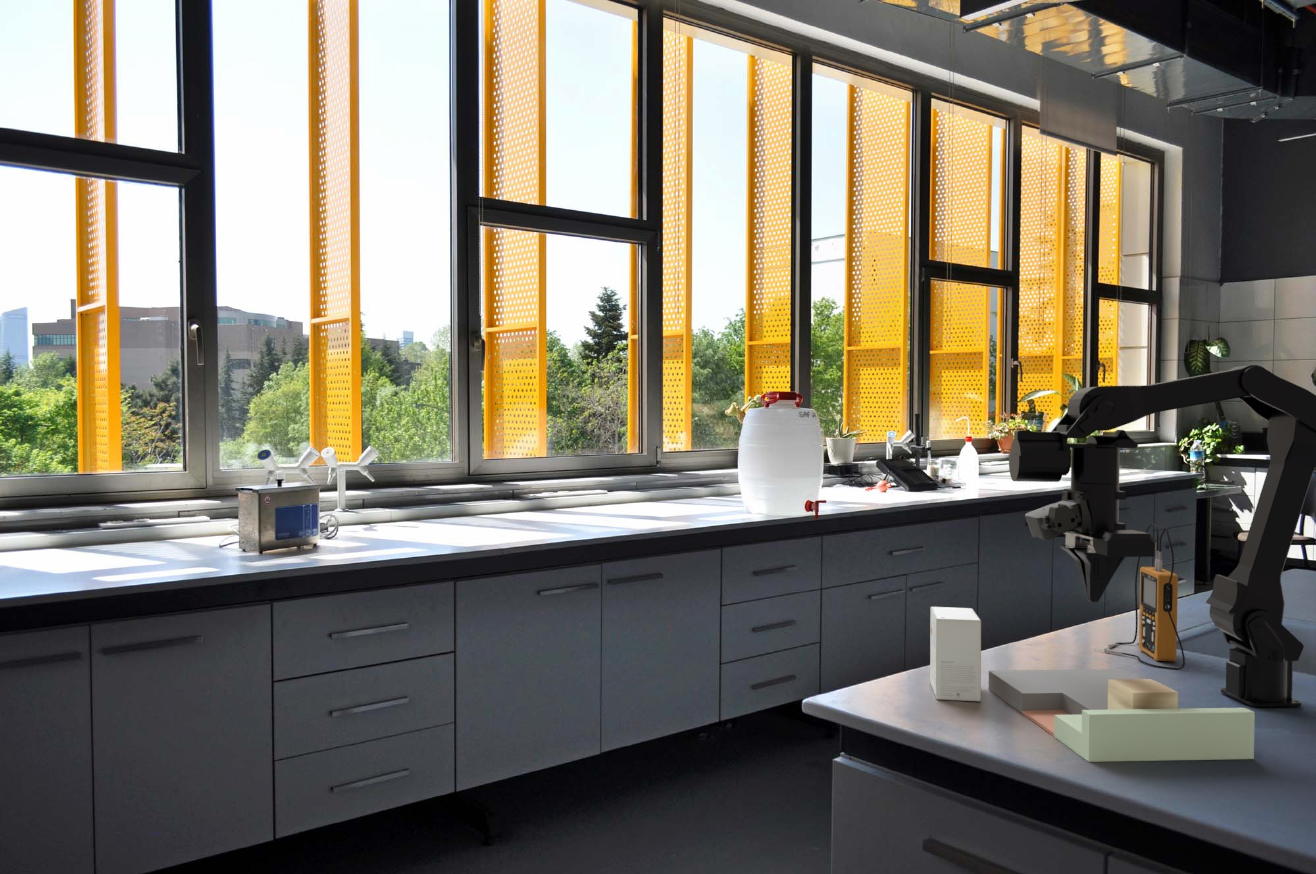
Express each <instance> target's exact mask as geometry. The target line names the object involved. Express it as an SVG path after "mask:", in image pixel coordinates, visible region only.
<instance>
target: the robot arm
mask: <svg viewBox="0 0 1316 874" xmlns="http://www.w3.org/2000/svg"><path fill="white" fill-rule="evenodd" d="M1233 399H1234V400H1235V399H1238V400H1240V401H1241V402H1242V403H1243V404H1245V406H1247V408H1249V409H1250V410H1251V411H1252V412H1253V413H1254V414H1255V415H1257V416H1258V417H1260V418H1262V419H1263V420H1265V421H1266V422H1268V424H1267V435H1266V442H1267V443H1266V444H1267V447H1268V448H1267V449H1268V453H1269V454H1268V455H1269V458H1270V459H1269V465H1268V468H1267V471H1266V475H1265V478H1264V482H1263V485H1262V488H1261V491H1260V493H1259V494H1260V495H1259V497H1258V500H1257V504H1256V507H1255V509H1254V514H1253V516H1252V520H1251V522H1250V526H1249V530H1248V533H1247V535H1246V538H1245V543H1244V546H1243V549H1242V553H1241V556H1240V559H1239V561H1238V562H1239V563H1238V565H1237V566H1236V568H1234V570H1233V571H1232V572H1231V573H1230V574H1229V575H1228V576H1225V575H1221V574H1215V577H1214V579H1213V586H1212V591H1211V594H1210V596H1209V597H1208V598H1207V599H1206V601H1205V603H1206V604H1208V605H1210V606H1209V612H1208V613H1209V617H1210V619H1211V621H1212V622H1213V624H1214V626H1215V627H1216V628H1217V629H1219V631H1221V632H1222V635H1223V636H1224V639H1225V642H1226V643H1227V644H1228V645H1231V646H1234V648H1229V651H1228V652H1229V656H1228V657H1229V659H1228V660H1226V664H1225V669H1226V670H1225V687H1221V688H1220V693H1222V694H1224V695H1225V696H1227V697H1231V698H1233V699H1235V700H1237V701H1239V702H1241V703H1244V704H1245V705H1248V706H1251V707H1258V708H1263V707H1265V708H1267V707H1268V708H1269V707H1273V708H1274V707H1279V708H1280V707H1301V706H1302V705H1303V704H1302V701H1299V700H1297V699H1296V698H1293V682H1294V681H1293V678H1294V677H1293V676H1294V675H1293V674H1294V672H1293V671H1294V669H1293V668H1294V662H1298V661H1299V660H1300V657H1301V655H1302V653H1303V650H1304V644H1303V643H1302V642H1301V641H1300V640H1299V639H1298V638H1297V637H1296V636H1295V635H1294V634H1293V633H1291V631H1290V630H1288V629H1287V627H1285V626H1284V625H1283V620H1284V611H1285V598H1284V593H1283V592H1284V591H1283V586H1282V580H1281V579H1282V576H1283V575H1282V574H1283V572H1284V567H1285V565H1286V561H1287V559H1288V555H1289V551H1290V548H1291V546H1292V541H1293V540H1294V536H1295V533H1296V529H1297V526H1298V522H1299V520H1300V517H1301V513H1302V511H1303V507H1304V504H1305V501H1306V498H1307V494H1308V491H1309V488H1310V485H1311V482H1312V479H1313V475H1314V472H1315V470H1316V394H1314V393H1313V392H1311V391H1309V389H1306V388H1304V387H1302V386H1300V385H1297V384H1295V383H1293V382H1290V381H1288V380H1286V379H1284V378H1282V377H1280V376H1278V375H1276V374H1275V373H1273V372H1271V371H1270V370H1268V369H1266V368H1265V367H1263V366H1261V365H1259V364H1250V365H1249V364H1248V365H1240V366H1235V367H1232V368H1229V369H1228V370H1222V371H1216V372H1212V373H1205V374H1201V375H1195V376H1190V377H1185V378H1178V379H1174V380H1169V381H1162V382H1155V383H1151V384H1145V385H1102V386H1101V385H1100V386H1092V387H1091V386H1089V387H1084V388H1080V389H1078V390H1077V391H1074V393H1073V394H1072V396H1071V397H1070V398H1069V399H1068V403H1067V405H1066V409H1067V410H1066V413H1064V415H1063V417H1062V418H1061V419H1060V420H1059V421H1058V423H1057V424H1056V425H1055V426H1054V427H1053V428H1052V430H1051V431H1032V430H1025V429H1022V430H1021V429H1015V430H1014V432H1013V433H1014V434H1013V440H1012V443H1011V448H1010V453H1009V454H1008V470H1009V474H1010V479H1011V481H1013V482H1029V483H1030V482H1031V483H1032V482H1037V483H1038V482H1045V483H1059V482H1061V479H1062V477H1063V476H1067V475H1068V474H1069V473H1070V488H1064V489H1063V491H1062V493H1061V500H1059V501H1056V502H1055V503H1054V502H1053V503H1050V504H1047V505H1045V506H1044V505H1043V506H1042V507H1040V508H1037V509H1035V510H1031V511H1028V512H1026V513H1025V514H1024V517H1025V520H1026V522H1027V525H1028V529H1029V531H1030V534H1031V537H1032V538H1039V539H1041V541H1052V540H1054V539H1057V538H1065V542H1064V543H1065V544H1059V546H1060V548H1061V549H1062V550H1064V551H1065V552H1066V553H1067V554H1068V555H1070V557H1071V558H1072V559H1073V560H1074V563H1075V565H1076V568H1077V571H1078V573H1079V574H1078V575H1079V577H1080V581H1081V583H1082V587H1083V590H1084V593H1085V597H1086V600H1087V601H1088V602H1090V603H1098V602H1099V601H1100V599H1101V598H1102V596H1103V594H1104V592H1105V591H1106V589H1107V587H1108V585H1109V583H1110V582H1111V579H1112V578H1113V577H1114V575H1115V573H1116V572H1117V570H1118V569H1119V567H1120V566H1121V564H1122V563H1123V562H1124V560H1125V558H1131V557H1132V558H1135V557H1136V558H1137V557H1140V558H1143V557H1144V558H1148V557H1149V558H1152V557H1155V558H1156V555H1157V539H1156V538H1155V537H1153V535H1152V534H1151V533H1149V532H1147V533H1145V532H1146V531H1145V532H1144V531H1139V530H1135V529H1126V528H1127V527H1126V525H1127V524H1126V523H1123V522H1119V516H1120V513H1119V512H1120V510H1119V509H1120V508H1119V507H1120V501H1125V500H1127V491H1123V490H1120V462H1121V461H1120V456H1121V455H1120V453H1121V450H1120V449H1138V447H1139V443H1138V442H1136V441H1135V440H1134V439H1133V438H1131V437H1130V436H1129V435H1128V434H1127V432H1126V430H1124V429H1117V428H1120V427H1122V426H1125V425H1129V424H1131V423H1135V422H1137V421H1138V420H1140V419H1143V418H1144V417H1147V416H1151V415H1152V414H1155V413H1160V412H1165V411H1171V410H1176V409H1177V410H1178V409H1183V408H1188V407H1193V406H1199V405H1204V404H1210V403H1216V402H1222V401H1228V400H1233ZM1114 429H1117V430H1115V431H1114V432H1113V434H1111V435H1110V434H1109V435H1108V434H1106V435H1100V434H1098V435H1097V434H1096V435H1094V434H1093V433H1095V432H1097V431H1098V432H1099V431H1103V432H1104V431H1111V430H1114ZM1068 439H1086V440H1085V443H1084V442H1068ZM1070 469H1071V470H1070Z"/></svg>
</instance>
